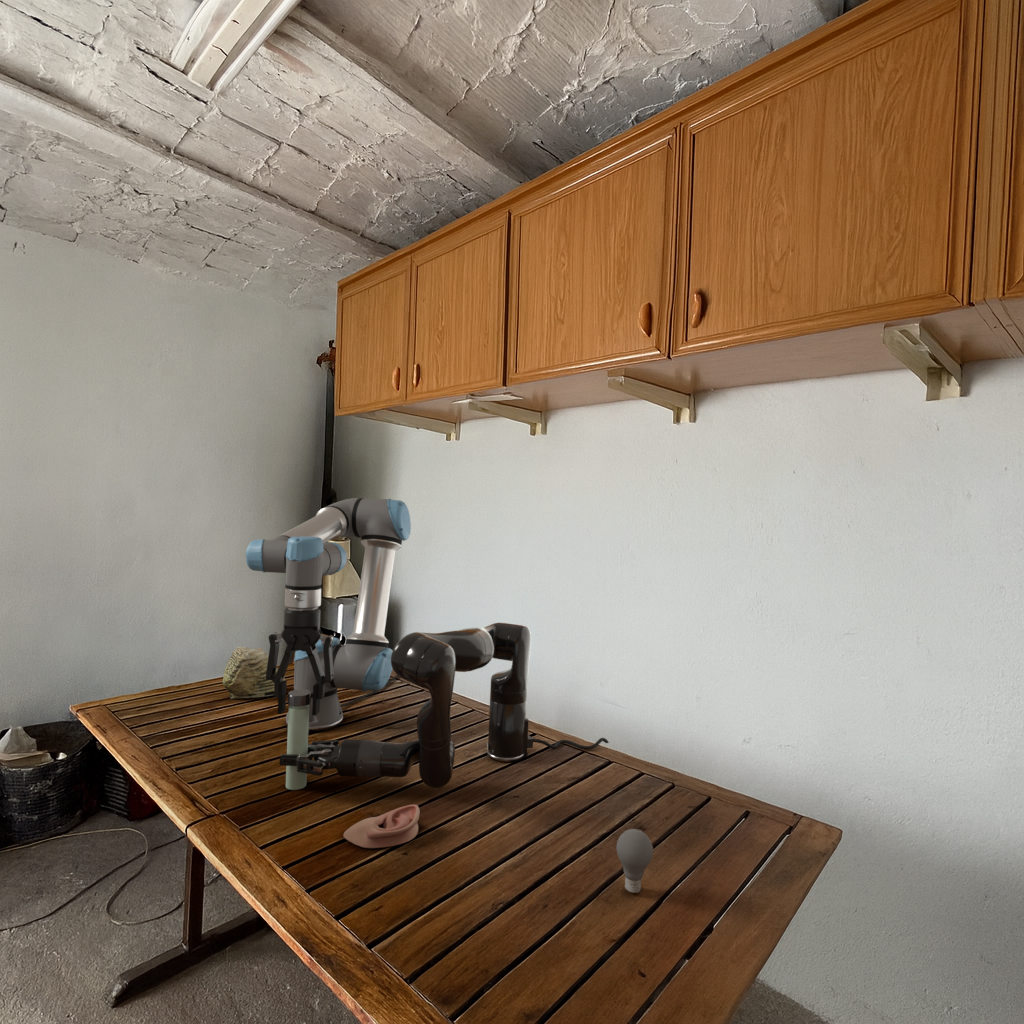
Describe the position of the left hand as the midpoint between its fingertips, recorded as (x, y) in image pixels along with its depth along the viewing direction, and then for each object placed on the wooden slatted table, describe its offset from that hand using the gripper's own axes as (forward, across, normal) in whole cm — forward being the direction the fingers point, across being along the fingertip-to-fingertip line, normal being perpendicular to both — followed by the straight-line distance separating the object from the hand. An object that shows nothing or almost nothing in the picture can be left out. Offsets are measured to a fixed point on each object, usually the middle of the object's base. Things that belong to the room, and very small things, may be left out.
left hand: (298, 712), depth 138 cm
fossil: (+16, -34, +59) cm, 70 cm away
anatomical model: (+16, +23, -18) cm, 33 cm away
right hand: (+10, -3, 0) cm, 10 cm away
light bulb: (+16, +68, -32) cm, 77 cm away
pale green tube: (+16, 0, 0) cm, 16 cm away
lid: (-4, 0, 0) cm, 4 cm away
